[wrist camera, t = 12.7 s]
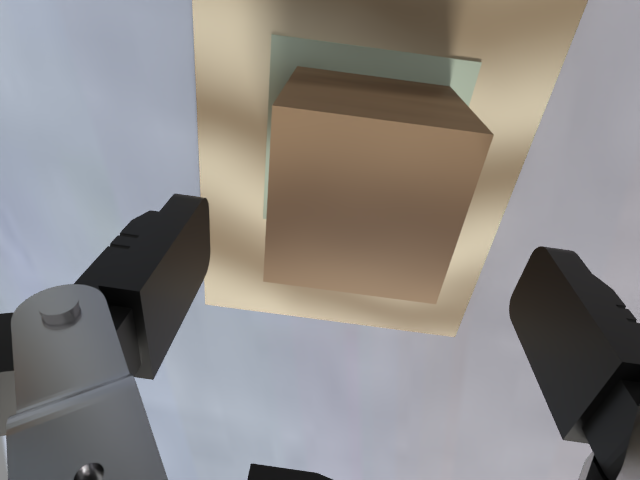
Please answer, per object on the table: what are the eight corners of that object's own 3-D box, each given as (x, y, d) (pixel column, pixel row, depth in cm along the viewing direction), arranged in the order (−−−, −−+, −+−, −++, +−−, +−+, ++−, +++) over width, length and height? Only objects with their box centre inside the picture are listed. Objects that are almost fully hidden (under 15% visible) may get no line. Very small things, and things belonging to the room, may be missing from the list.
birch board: (199, -182, 14) (182, -199, 13) (615, -126, 14) (643, -137, 13) (213, 287, 25) (204, 305, 23) (449, 318, 25) (455, 338, 23)
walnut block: (297, 65, 16) (272, 105, 11) (450, 86, 16) (494, 134, 11) (286, 202, 20) (262, 281, 14) (414, 219, 20) (435, 304, 14)
